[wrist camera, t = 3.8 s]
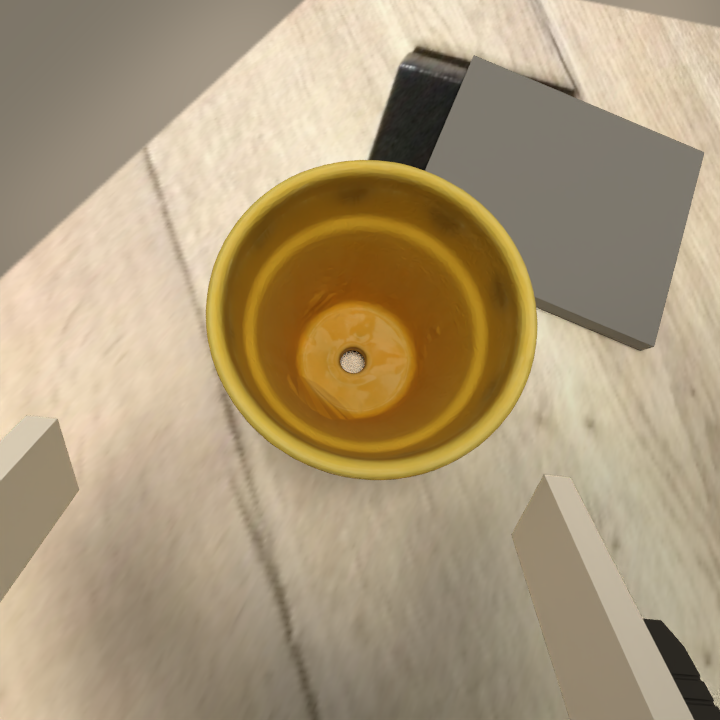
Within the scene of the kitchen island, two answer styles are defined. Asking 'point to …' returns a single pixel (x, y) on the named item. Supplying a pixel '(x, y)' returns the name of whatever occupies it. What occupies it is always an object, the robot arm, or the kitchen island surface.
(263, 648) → the kitchen island surface
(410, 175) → the plant pot
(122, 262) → the kitchen island surface
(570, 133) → the trivet mat
